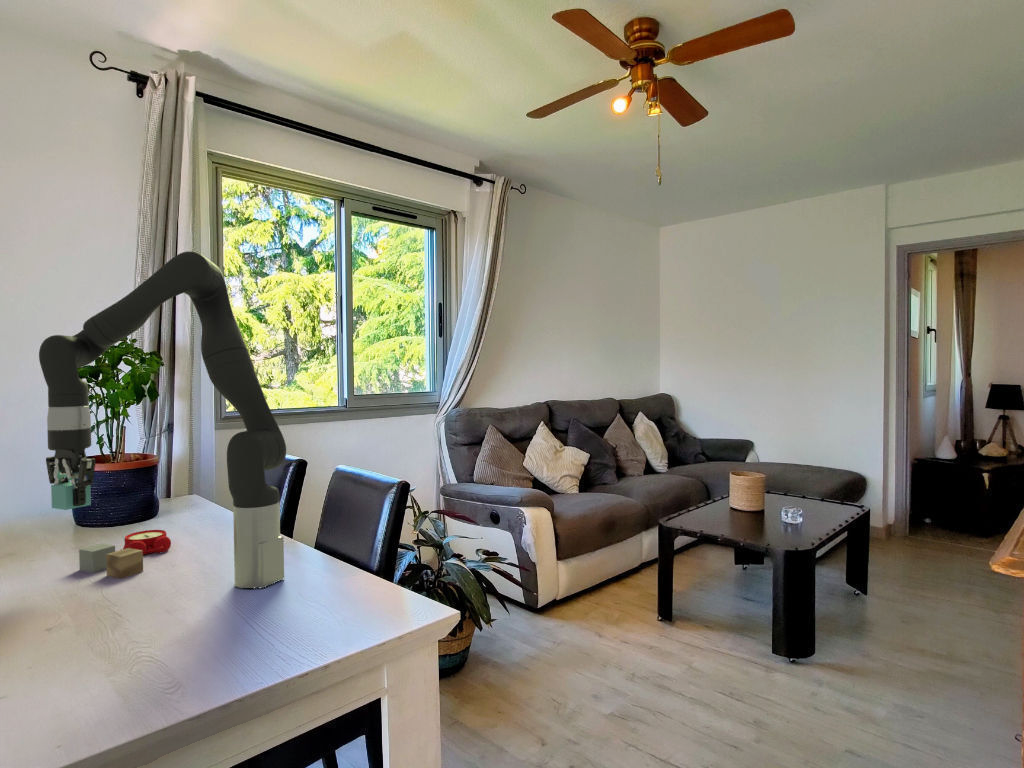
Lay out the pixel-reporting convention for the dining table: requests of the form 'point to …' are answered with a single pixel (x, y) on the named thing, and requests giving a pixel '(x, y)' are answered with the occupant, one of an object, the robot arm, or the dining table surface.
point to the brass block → (124, 563)
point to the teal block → (66, 496)
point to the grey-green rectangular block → (94, 557)
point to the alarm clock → (148, 541)
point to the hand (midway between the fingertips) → (71, 504)
